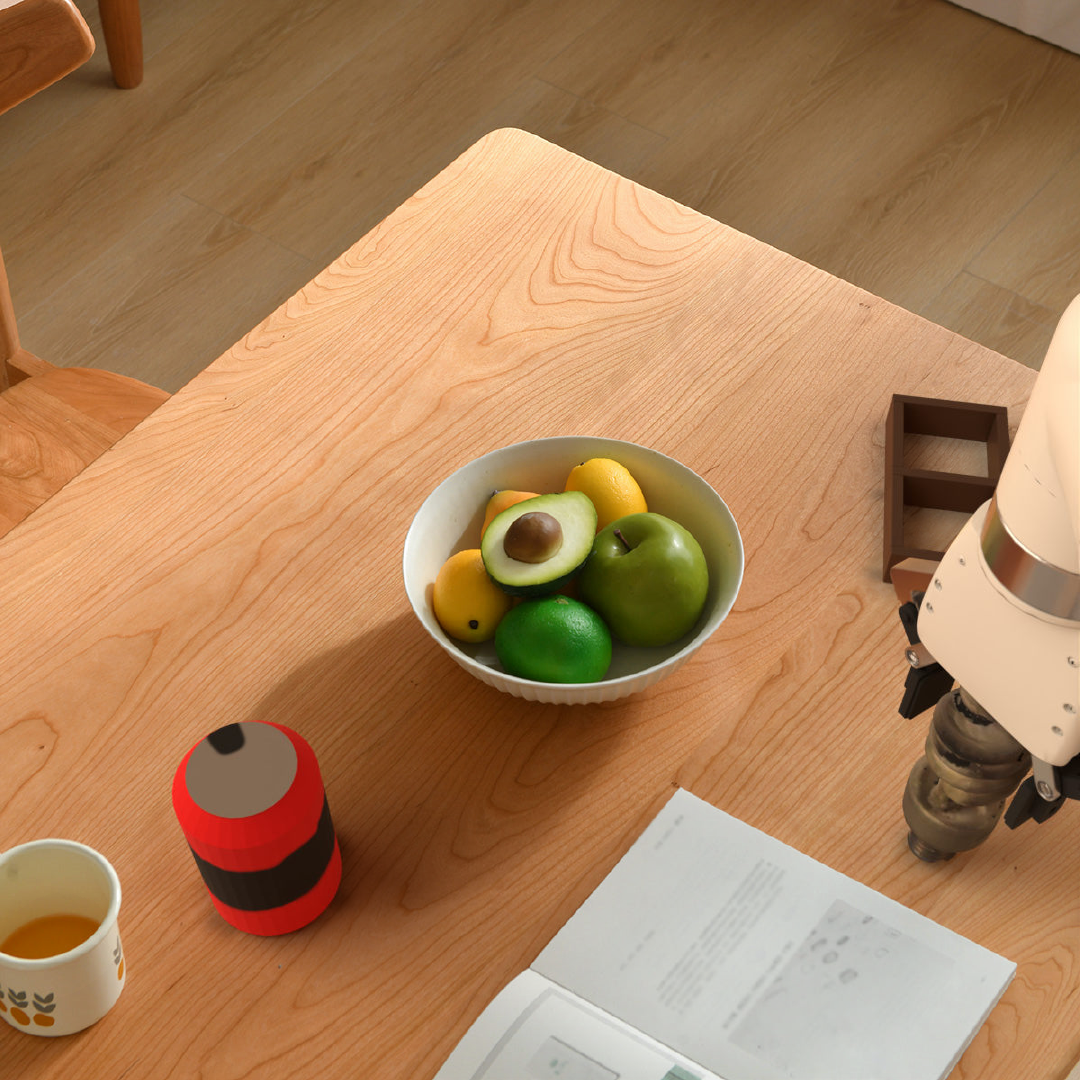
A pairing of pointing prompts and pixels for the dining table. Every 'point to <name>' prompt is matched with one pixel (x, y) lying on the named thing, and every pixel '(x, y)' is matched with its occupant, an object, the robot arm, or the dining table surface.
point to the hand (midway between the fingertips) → (974, 755)
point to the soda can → (259, 826)
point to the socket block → (935, 485)
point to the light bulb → (961, 779)
